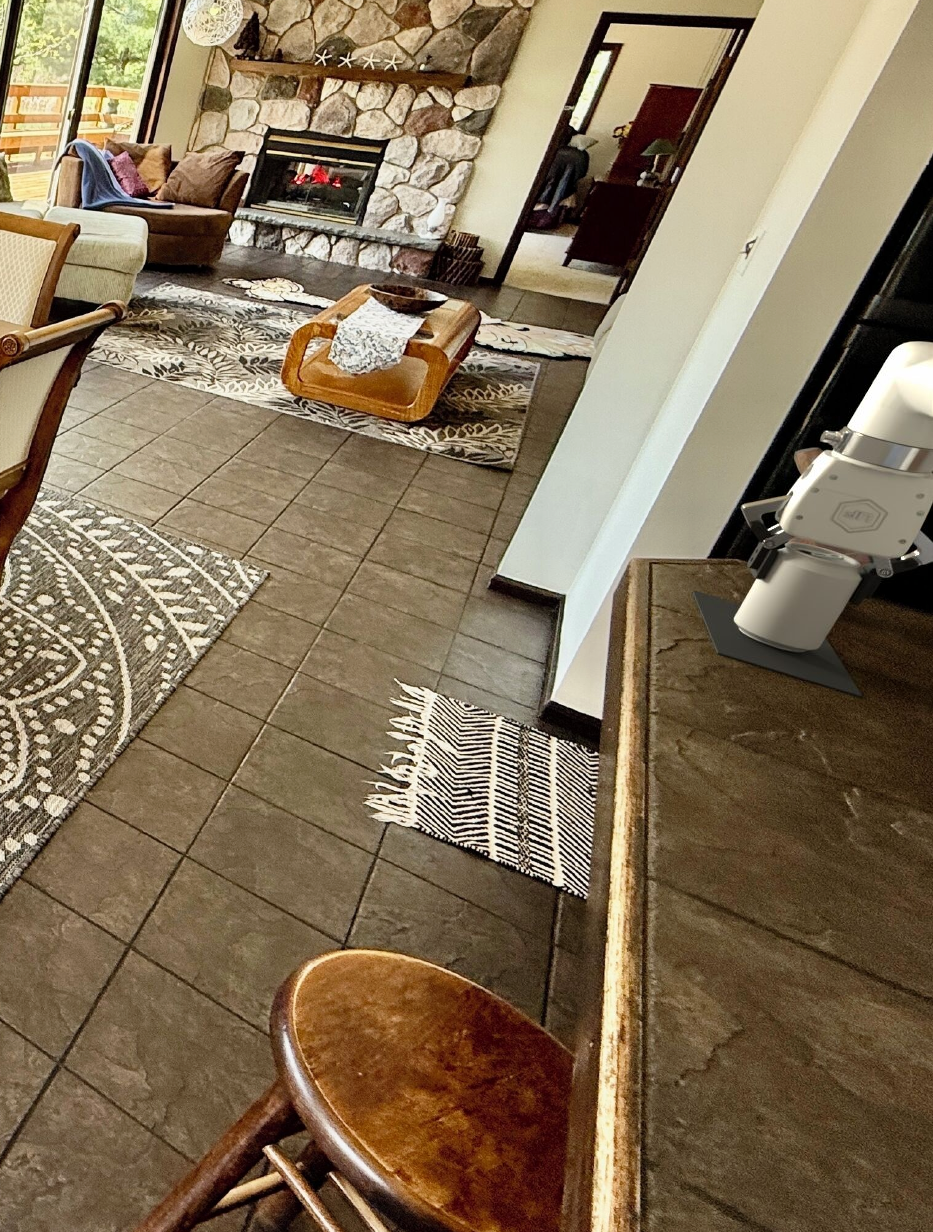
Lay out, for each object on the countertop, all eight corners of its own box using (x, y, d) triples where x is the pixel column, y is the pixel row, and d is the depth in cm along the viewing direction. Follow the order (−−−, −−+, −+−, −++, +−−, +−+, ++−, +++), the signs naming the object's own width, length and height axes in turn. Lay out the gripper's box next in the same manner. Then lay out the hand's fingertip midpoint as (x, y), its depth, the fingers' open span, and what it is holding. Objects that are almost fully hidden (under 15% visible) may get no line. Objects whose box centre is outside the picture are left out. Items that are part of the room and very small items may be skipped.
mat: (816, 625, 117) (817, 624, 117) (861, 697, 103) (862, 696, 102) (691, 591, 124) (692, 589, 124) (717, 653, 109) (718, 652, 109)
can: (722, 616, 117) (770, 532, 113) (803, 638, 114) (856, 552, 109) (739, 639, 111) (790, 551, 107) (825, 663, 108) (881, 573, 103)
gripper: (786, 439, 105) (710, 572, 112) (1018, 486, 95) (919, 628, 103) (771, 423, 110) (700, 551, 117) (989, 466, 101) (897, 602, 108)
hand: (802, 586), depth 110 cm, fingers closed on can, 7 cm apart
